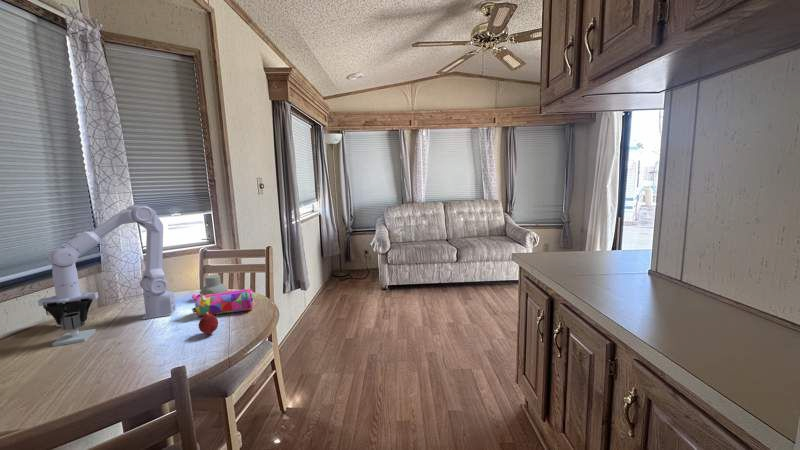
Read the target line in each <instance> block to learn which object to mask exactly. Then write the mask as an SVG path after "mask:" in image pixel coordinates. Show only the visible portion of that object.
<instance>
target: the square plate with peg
mask: <svg viewBox="0 0 800 450" xmlns="http://www.w3.org/2000/svg"><path fill="white" fill-rule="evenodd" d="M96 332H97V330H96V328H92V329H87V330H86V329H84V330H80V331H79V327H78V328H75V329H70V330H69V332H66V333H64V334H63V335H61V336H60V337H59V338H58V339H57V340H55V341H54V342H52V347H58V346H65V345H72V344H76V343H83V342H86V341H87V340H88V339H89V338H91V336H93V335H94V333H96Z"/></svg>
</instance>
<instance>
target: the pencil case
mask: <svg viewBox="0 0 800 450" xmlns="http://www.w3.org/2000/svg"><path fill="white" fill-rule="evenodd" d="M191 298H192V299H194V300H195V303H194V306H195V307H193V308H191V311H192V313H193V314H195V316H196V317H204V316H205V315H206V312H209V314H211V315H214V316H215V314H216V315H220V314H229V313H231V312H232V313H236V312H237V313H238V312H245V311H246V310H247V311H249V310H253V308H254V304H255V296H254V292H253V289H252V288H245V289H240V290H239V289H237V290H227V291H225V292H220V293H215V294H208V295H202V294H200V293H198V294H197V295H195V294H194V293H193V294H192V295H191ZM247 311H246V312H247ZM232 313H231V314H232Z"/></svg>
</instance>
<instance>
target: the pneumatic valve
mask: <svg viewBox="0 0 800 450" xmlns="http://www.w3.org/2000/svg"><path fill="white" fill-rule="evenodd" d="M55 296H56V295H53V296H52V297H55ZM78 302H80V301H72V302H64V303H63V315H66V314H69V313H74V312H79V309H78V306H77V303H78ZM42 307H43V309H44V310H45V307H47V305H43V306H42ZM45 313H46V316H52V315H51V314H50V313H49V312H48V311H46V310H45ZM55 326H56V327H58V328H61V325H58V324H57V322H56V321H55Z"/></svg>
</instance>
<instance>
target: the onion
mask: <svg viewBox="0 0 800 450" xmlns="http://www.w3.org/2000/svg"><path fill="white" fill-rule="evenodd" d="M218 326H219V320H218V318H217V317H216V316H215V314H214V315H211V314H209V312H206V315H203V316H202V318H201V319H200V320H199V323H198V329H199V330H200V332H201V333H203V334H206V335H209V334H210V335H212V334H213V333H214V332H215V331H216V330H217V328H218Z"/></svg>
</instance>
